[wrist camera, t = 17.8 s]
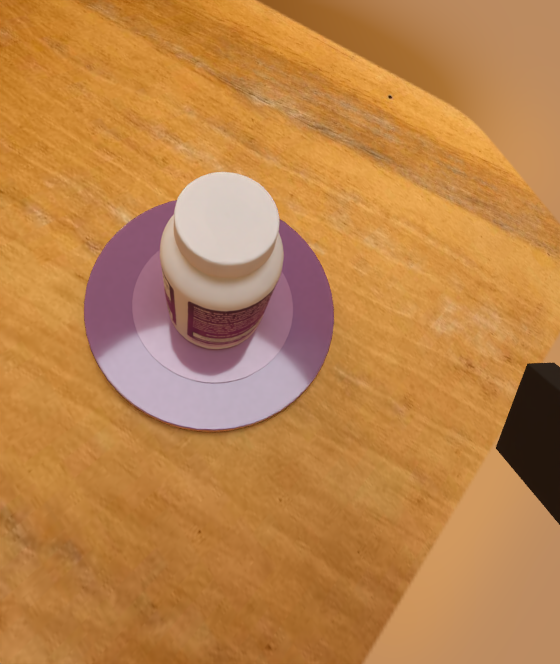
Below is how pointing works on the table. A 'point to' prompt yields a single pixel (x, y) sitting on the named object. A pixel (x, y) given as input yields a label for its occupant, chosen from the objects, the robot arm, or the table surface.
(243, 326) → the pill bottle
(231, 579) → the table surface
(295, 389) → the saucer
